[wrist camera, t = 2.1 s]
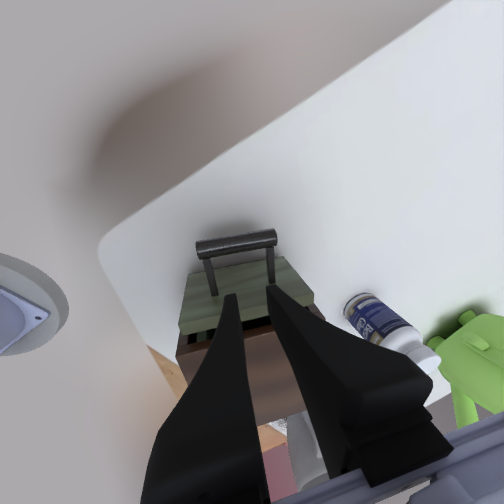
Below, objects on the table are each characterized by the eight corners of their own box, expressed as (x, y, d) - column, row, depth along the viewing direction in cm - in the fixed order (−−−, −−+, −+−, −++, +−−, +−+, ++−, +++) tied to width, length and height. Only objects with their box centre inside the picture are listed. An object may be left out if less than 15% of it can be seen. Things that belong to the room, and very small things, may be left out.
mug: (315, 416, 41) (344, 482, 32) (278, 428, 39) (297, 500, 31) (320, 384, 36) (356, 453, 27) (277, 397, 34) (300, 474, 26)
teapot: (381, 362, 37) (487, 482, 23) (475, 286, 32) (678, 377, 18) (425, 387, 47) (516, 481, 33) (500, 332, 43) (643, 413, 29)
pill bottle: (340, 302, 27) (402, 367, 18) (373, 286, 27) (450, 343, 18) (345, 325, 29) (402, 391, 21) (375, 310, 29) (445, 370, 21)
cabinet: (187, 286, 20) (174, 357, 13) (285, 266, 22) (326, 318, 14) (211, 362, 26) (212, 441, 19) (287, 342, 28) (316, 407, 20)
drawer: (173, 229, 17) (153, 264, 11) (282, 212, 18) (318, 234, 12) (211, 352, 24) (212, 414, 18) (285, 333, 26) (308, 384, 20)
